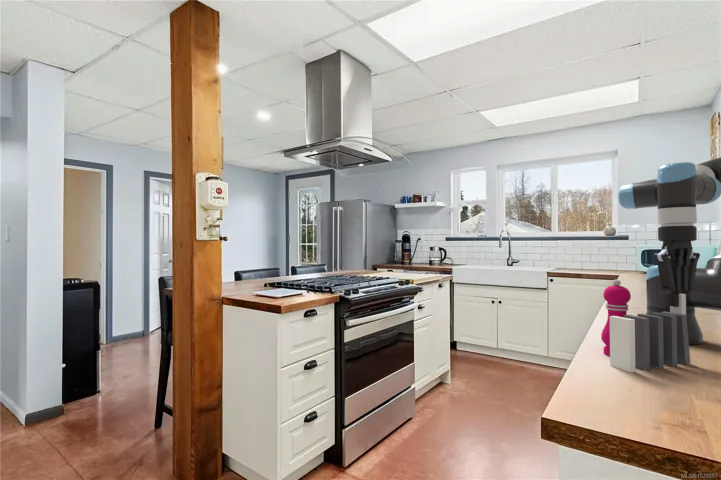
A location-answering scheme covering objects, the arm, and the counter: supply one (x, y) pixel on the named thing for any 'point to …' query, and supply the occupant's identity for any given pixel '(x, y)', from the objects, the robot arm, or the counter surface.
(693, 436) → the counter surface
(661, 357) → the domino
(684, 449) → the counter surface
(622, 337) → the white domino
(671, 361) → the domino
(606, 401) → the counter surface
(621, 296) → the pepper mill
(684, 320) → the domino
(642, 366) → the domino
